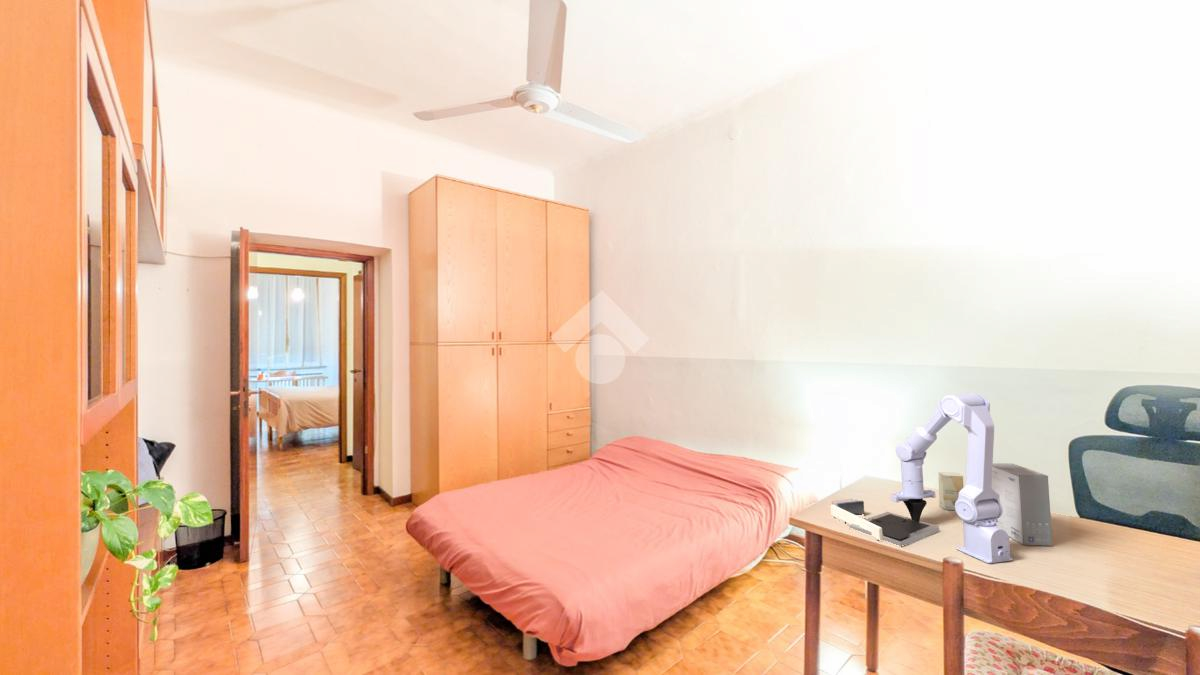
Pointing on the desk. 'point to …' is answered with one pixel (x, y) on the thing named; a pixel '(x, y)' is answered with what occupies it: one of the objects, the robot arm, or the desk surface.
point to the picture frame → (899, 528)
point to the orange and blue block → (843, 501)
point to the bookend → (853, 507)
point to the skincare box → (949, 489)
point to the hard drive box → (1023, 503)
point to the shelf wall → (857, 521)
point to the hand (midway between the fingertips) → (914, 521)
